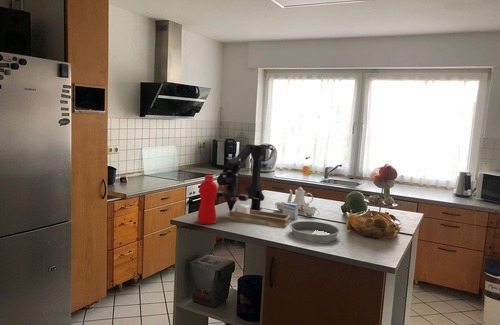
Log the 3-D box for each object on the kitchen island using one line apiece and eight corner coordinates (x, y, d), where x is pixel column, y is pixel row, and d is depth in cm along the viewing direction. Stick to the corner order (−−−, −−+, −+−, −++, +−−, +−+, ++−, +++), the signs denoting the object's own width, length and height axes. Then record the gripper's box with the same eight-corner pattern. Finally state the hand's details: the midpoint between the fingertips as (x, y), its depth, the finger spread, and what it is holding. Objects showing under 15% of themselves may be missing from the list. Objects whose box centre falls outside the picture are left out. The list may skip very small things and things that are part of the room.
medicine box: (282, 218, 223) (283, 203, 222) (285, 216, 227) (286, 202, 226) (295, 220, 219) (296, 205, 219) (297, 218, 223) (299, 204, 222)
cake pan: (305, 226, 209) (306, 218, 209) (347, 237, 194) (348, 228, 194) (279, 235, 190) (279, 226, 190) (323, 248, 175) (324, 238, 175)
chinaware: (271, 215, 235) (272, 188, 232) (278, 207, 251) (279, 182, 247) (317, 221, 226) (319, 194, 223) (322, 213, 242) (323, 187, 238)
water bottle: (213, 219, 211) (216, 173, 208) (216, 224, 200) (219, 177, 197) (196, 219, 209) (199, 173, 206) (198, 224, 198) (200, 176, 195)
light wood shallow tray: (236, 213, 226) (237, 207, 225) (290, 221, 216) (291, 214, 216) (228, 219, 213) (228, 212, 212) (285, 227, 203) (285, 220, 202)
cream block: (239, 212, 221) (240, 204, 220) (249, 214, 219) (250, 205, 218) (236, 214, 215) (236, 206, 215) (246, 216, 213) (246, 207, 213)
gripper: (211, 183, 213) (209, 211, 215) (243, 187, 207) (241, 216, 209) (219, 181, 223) (217, 207, 225) (249, 184, 218) (247, 212, 219)
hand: (230, 210), depth 219 cm, fingers closed
